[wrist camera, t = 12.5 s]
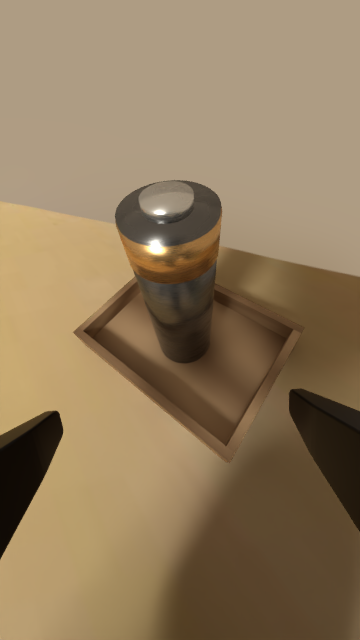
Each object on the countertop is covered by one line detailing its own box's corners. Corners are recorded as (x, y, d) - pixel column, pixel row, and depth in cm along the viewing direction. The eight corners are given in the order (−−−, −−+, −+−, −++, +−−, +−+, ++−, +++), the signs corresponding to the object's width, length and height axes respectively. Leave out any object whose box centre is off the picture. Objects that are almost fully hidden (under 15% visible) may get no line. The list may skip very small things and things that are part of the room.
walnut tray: (225, 462, 15) (229, 462, 13) (84, 343, 20) (72, 332, 19) (294, 340, 19) (304, 327, 17) (161, 270, 25) (158, 255, 23)
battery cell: (158, 365, 18) (101, 237, 8) (159, 319, 21) (116, 173, 10) (213, 361, 18) (232, 224, 7) (207, 316, 20) (215, 163, 10)
